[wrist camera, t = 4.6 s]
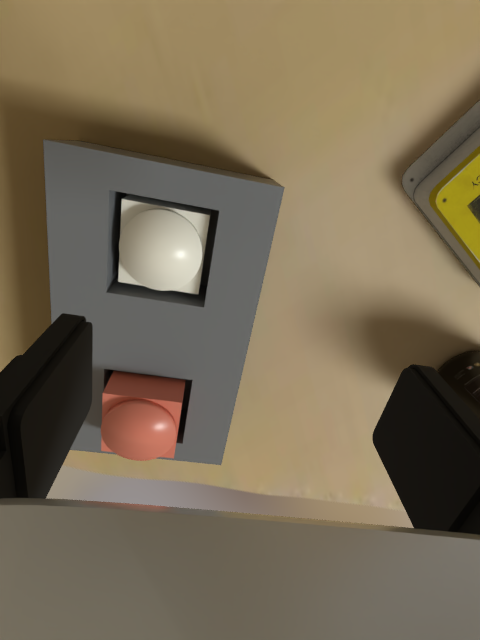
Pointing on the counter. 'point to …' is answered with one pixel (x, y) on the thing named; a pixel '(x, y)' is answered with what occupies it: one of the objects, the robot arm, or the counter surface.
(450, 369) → the supplement bottle
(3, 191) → the counter surface
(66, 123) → the counter surface
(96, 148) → the button panel
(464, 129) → the emergency button
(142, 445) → the red button
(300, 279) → the counter surface
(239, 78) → the counter surface
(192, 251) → the ivory button
